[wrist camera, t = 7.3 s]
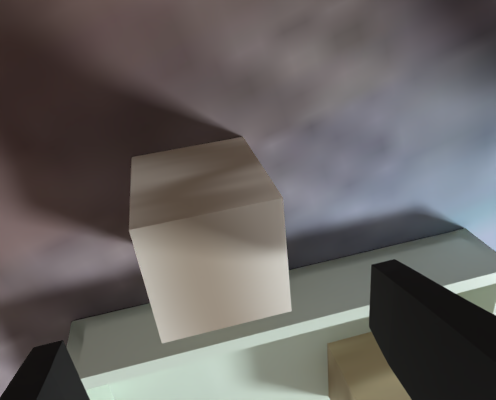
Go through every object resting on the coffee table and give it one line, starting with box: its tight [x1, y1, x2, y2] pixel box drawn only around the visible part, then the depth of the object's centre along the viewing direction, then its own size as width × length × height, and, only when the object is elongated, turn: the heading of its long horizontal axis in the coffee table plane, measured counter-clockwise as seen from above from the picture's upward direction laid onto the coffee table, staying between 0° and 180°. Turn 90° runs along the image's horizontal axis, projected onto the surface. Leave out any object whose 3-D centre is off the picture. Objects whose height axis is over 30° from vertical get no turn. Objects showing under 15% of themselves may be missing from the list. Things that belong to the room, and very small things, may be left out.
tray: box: [67, 229, 496, 400], centre depth 20 cm, size 18×13×3 cm
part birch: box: [129, 137, 292, 343], centre depth 14 cm, size 4×4×5 cm
